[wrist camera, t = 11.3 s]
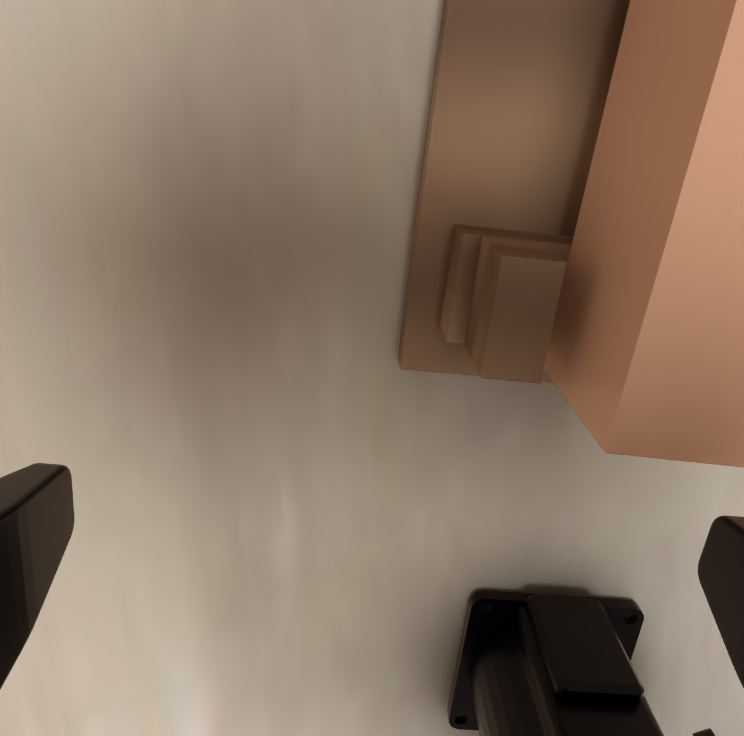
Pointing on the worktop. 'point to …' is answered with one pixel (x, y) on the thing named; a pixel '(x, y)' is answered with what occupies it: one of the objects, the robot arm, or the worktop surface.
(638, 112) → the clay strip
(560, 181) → the drying rack
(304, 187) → the worktop surface
